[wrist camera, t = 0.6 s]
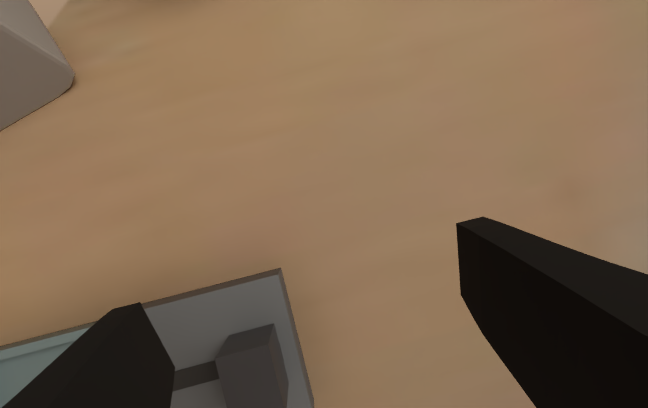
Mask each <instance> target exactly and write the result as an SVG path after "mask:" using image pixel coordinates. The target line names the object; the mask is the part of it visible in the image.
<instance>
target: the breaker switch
mask: <svg viewBox="0 0 648 408" xmlns="http://www.w3.org/2000/svg"><path fill="white" fill-rule="evenodd" d="M215 362H216V366H217V370H218V374H219V378H220V382H221V387H222V391H223V395H224V399H225V403H226V407H227V408H287V399H288V387H289V381H288V377H287V373H286V369H285V365H284V361H283V357H282V353H281V349H280V345H279V341H278V337H277V333H276V329H275V325H274V323H273V324H269V325H265V326H262V327H258V328H254V329H251V330H247V331H243V332H239V333H236V334H232V335H229V336H228V338H227V340H226V341H225V343H224V344H223V346H222V348H221V349H220V351H219V353H218V354H217V356H216V357H215Z"/></svg>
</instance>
